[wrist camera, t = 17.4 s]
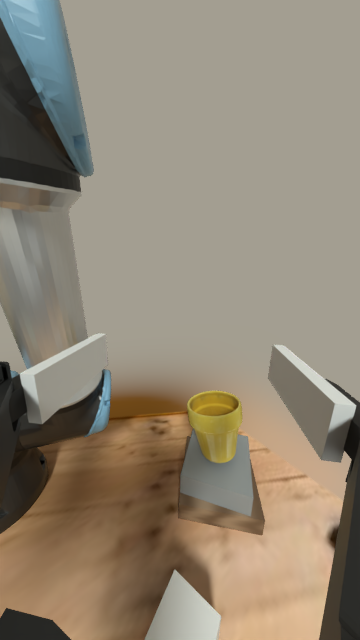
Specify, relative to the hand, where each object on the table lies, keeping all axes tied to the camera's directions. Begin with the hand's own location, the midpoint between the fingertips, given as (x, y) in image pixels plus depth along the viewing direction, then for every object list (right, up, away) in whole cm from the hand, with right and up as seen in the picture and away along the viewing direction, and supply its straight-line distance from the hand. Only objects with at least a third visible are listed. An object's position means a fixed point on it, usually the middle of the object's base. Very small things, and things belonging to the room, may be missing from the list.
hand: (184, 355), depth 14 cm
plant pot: (+7, -23, +22) cm, 33 cm away
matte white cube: (0, -35, +6) cm, 35 cm away
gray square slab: (+7, -28, +23) cm, 36 cm away
